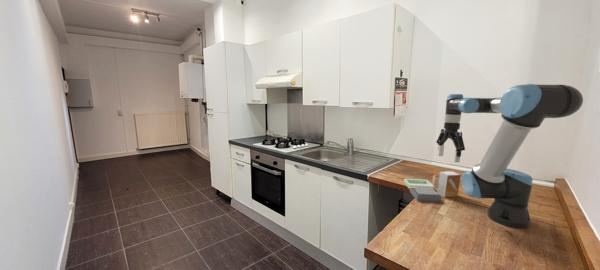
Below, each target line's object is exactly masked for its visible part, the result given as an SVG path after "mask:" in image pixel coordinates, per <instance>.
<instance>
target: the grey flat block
mask: <svg viewBox="0 0 600 270" xmlns="http://www.w3.org/2000/svg"><path fill="white" fill-rule="evenodd" d="M409 192H410V194H411V195H412V196H413V198H414V199H415V200H416V201H417V202H432V203H433V202H435V203H441V201H442V195H440V194H439V195H438V196H432V195H419V194H418V193H417V192H416V191H415V190H414V188H413V187H410V189H409Z"/></svg>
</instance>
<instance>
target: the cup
mask: <svg viewBox="0 0 600 270" xmlns="http://www.w3.org/2000/svg"><path fill="white" fill-rule="evenodd" d="M439 176H440V174H434V175H432V183H431V184H432V185H433V186H434V188H437V189H438V184H439Z"/></svg>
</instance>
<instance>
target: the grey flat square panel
mask: <svg viewBox="0 0 600 270" xmlns="http://www.w3.org/2000/svg"><path fill="white" fill-rule="evenodd" d="M413 188H414V190H415V191H416V193H417V194H418V195H427V196H438V195H440V194H438V193H437V192H438V191H436V190H435V188H434V189H433V188H432V187H425V186H413Z"/></svg>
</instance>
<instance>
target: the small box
mask: <svg viewBox="0 0 600 270" xmlns="http://www.w3.org/2000/svg"><path fill="white" fill-rule="evenodd" d="M439 175H440V176H439V184H438V188H437V191H436V192H437V193H438V194H439V195H440V196H441V197H443V198H455V197H456V198H457V197H458V196H459V195H458V194H459V191H460V190H459V189H460V184H461V183H460V182H461V177H462V174H460V173H457V172H455V171H454V170H452V171H440V172H439Z"/></svg>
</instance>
